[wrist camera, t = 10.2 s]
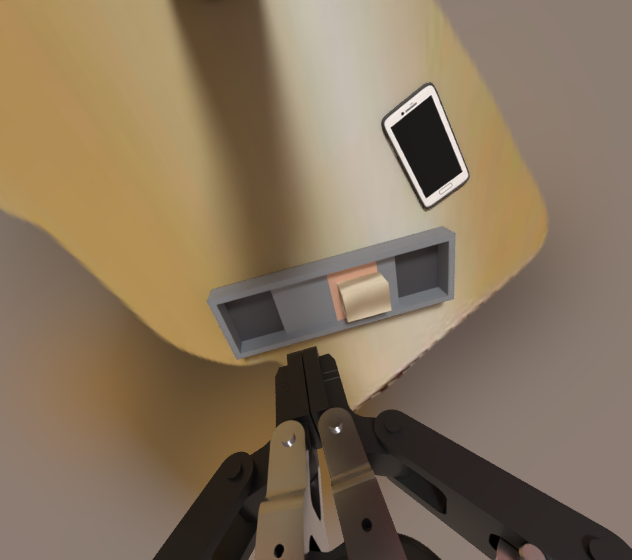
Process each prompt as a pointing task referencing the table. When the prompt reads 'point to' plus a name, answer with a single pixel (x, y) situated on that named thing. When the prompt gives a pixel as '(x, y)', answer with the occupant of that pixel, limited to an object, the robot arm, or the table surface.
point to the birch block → (364, 296)
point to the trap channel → (332, 292)
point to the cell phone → (426, 145)
